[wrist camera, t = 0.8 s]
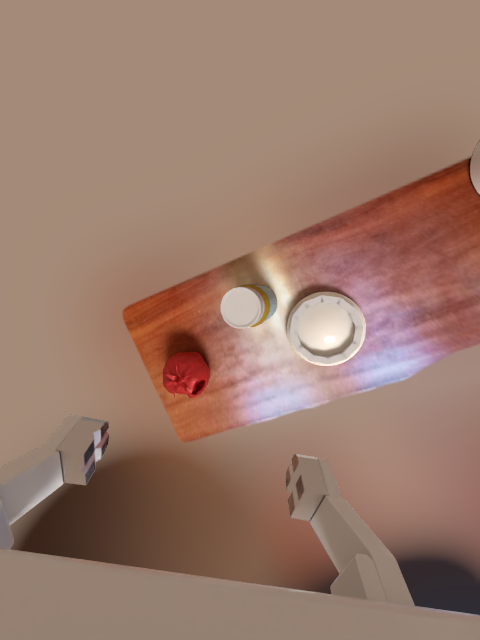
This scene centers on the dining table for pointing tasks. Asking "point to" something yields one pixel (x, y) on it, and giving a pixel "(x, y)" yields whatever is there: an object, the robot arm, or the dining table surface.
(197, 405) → the dining table surface
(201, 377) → the pomegranate
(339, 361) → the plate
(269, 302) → the bottle
